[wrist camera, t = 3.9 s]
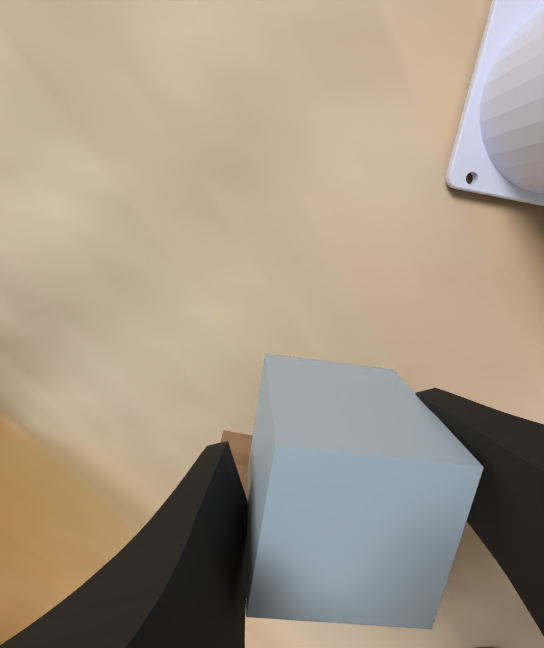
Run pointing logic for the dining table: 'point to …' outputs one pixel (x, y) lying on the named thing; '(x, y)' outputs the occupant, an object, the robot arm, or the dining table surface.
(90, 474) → the dining table surface
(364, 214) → the dining table surface
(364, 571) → the slate cube
